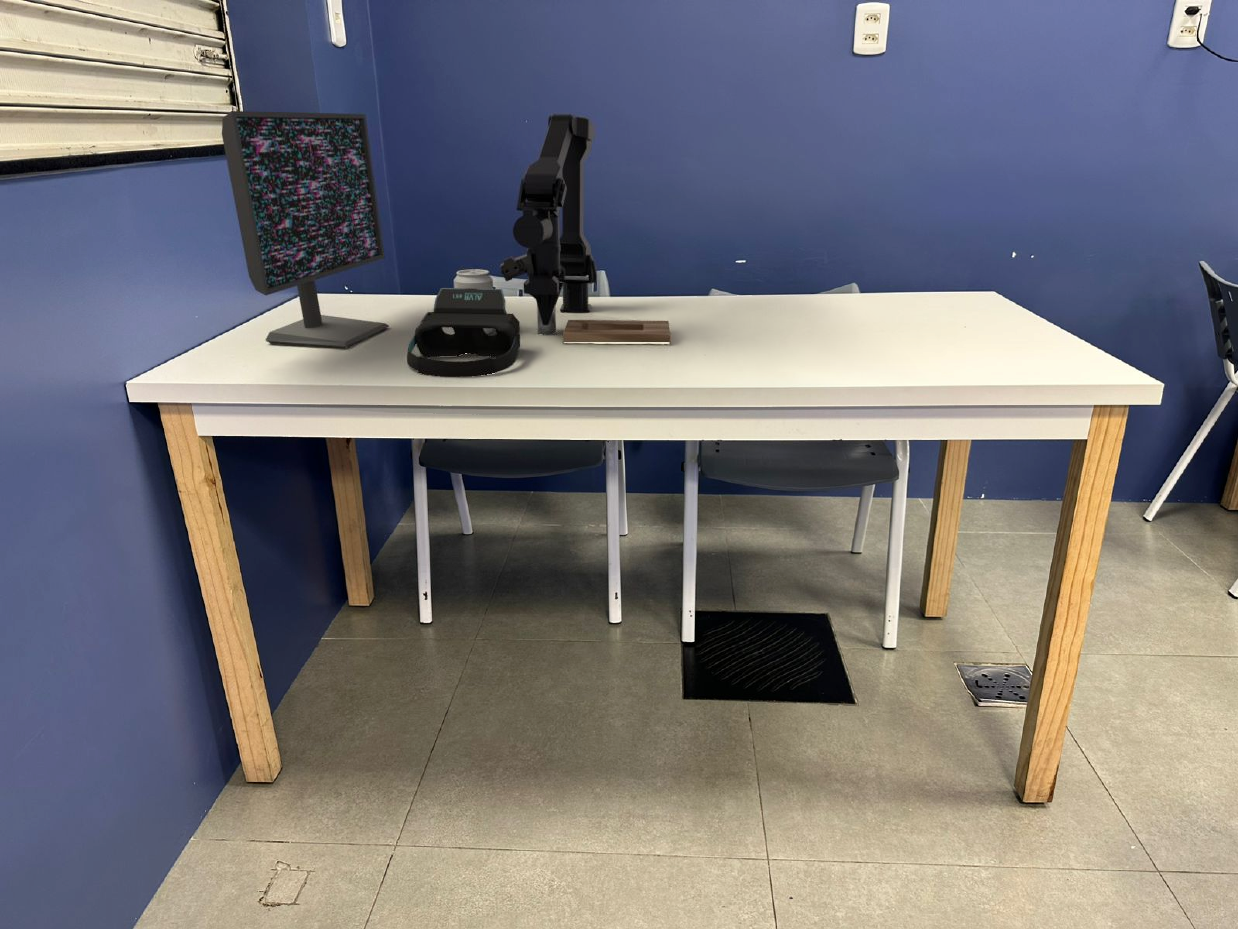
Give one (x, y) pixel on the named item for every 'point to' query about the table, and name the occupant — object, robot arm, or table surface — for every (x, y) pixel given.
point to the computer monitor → (304, 211)
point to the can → (474, 282)
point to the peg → (546, 328)
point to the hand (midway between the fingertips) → (546, 322)
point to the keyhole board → (616, 331)
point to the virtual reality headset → (466, 334)
